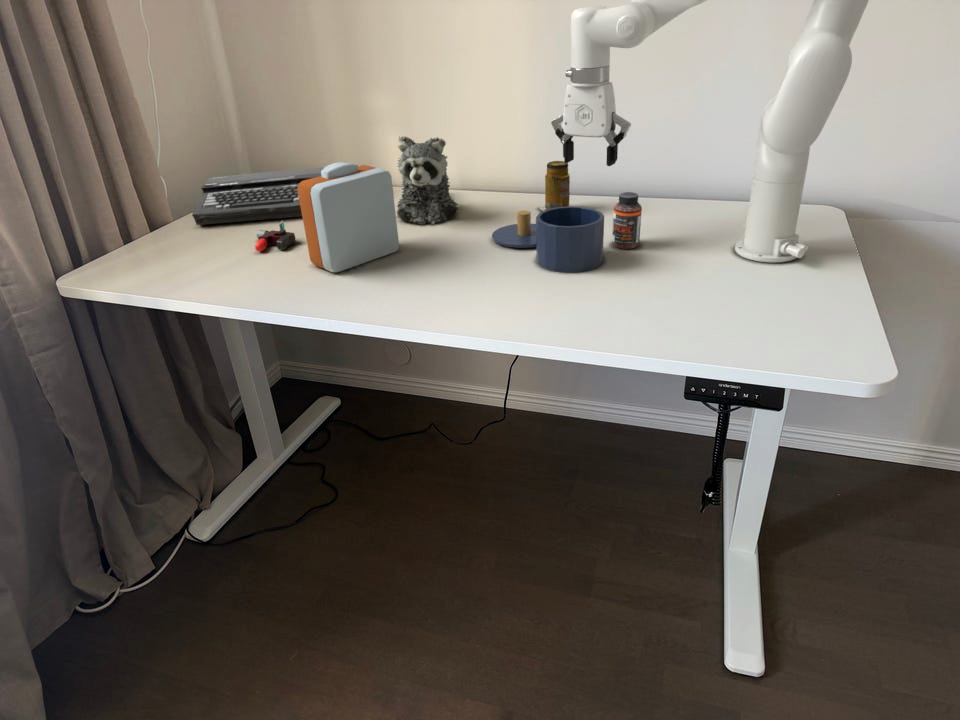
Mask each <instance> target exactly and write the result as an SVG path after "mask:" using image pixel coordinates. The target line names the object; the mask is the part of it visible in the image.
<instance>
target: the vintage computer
mask: <svg viewBox="0 0 960 720" xmlns="http://www.w3.org/2000/svg"><path fill="white" fill-rule="evenodd" d="M356 165H357V166H359V165H358V164H356ZM325 167H326V166H321V167H320V166H319V167H309V168H295V169H286V170H275V171H265V172H264V171H263V172H254V173H244V174H232V175H223V176H215V177H214V176H213V177H207V179H206V180H205V182H204V183H203V185H201V186H200V188H201V191H202V193H200V196H199V198H198V200H197V203H196V205H195V206H194V211H193V212H192V215H191V216H192V218H193V219H194V221H195V224H196V226H201V225H203V226H204V225H214V224H225V223H226V224H227V223H238V222H249V221H262V220H263V221H264V220H271V219H272V220H273V219H274V220H275V219H285V218H286V219H287V218H299V217H302V212H301V207H300V201H299V196H298V190H297V188H298V184H299V183H300V182H302V181H303V180H307V179H311V178H315V177H319V176H322V175H321V171H322V170H323V169H324V168H325Z"/></svg>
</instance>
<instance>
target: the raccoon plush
mask: <svg viewBox="0 0 960 720" xmlns="http://www.w3.org/2000/svg"><path fill="white" fill-rule="evenodd" d="M446 145H447V142H446V140H445V139H443V138H439V136H436V137H433V138H432V137H430V138H429V139H427V140H425V142H415V140H413V139H412V138H410V137H408V136H398V144H397V148H398V149H399V151H400V152H401V155H400V157H398V160H397V163H396V164H397V168H398V170H397V171H398V172H399V174H400V175H401V179H402V181H401V186H402V188H401V194H400V195H401V196H400V197H401V198H400V199H398V201H397V206H396V207H397V210H396V214H397V215H396V216H397V217H398V218H399V219H400V220H401V221H402V222H405V223H407V222H408V223H414V224H416V225H421V226H422V225H425V224H426V223H427V224H432V225H435V224H436V223H442V222H443V221H446V220H452V219H454V218H456V214H457V212H458V211H459V208H458V205H459V204H458V203H457V202H456V201H455V200H454V199H452V196H451V195H450V194H451V193H450V187H451V185H450V184H451V182H449V180H450V178H449V175H448V174H447V170H448V169H447V167H448V165H449V163H448V162H449V161H447V159H448V155H445V154H443V153H444V149H445V146H446Z"/></svg>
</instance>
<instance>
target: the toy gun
mask: <svg viewBox="0 0 960 720" xmlns="http://www.w3.org/2000/svg"><path fill="white" fill-rule="evenodd" d="M278 224H279V230H274V229H273V230H270V231H269V230H267V229H266V230H264V229H259V230H258V231H257V232H256V238H257V240H258V241H257V242H256V243H255V245H254V249H255V250H256V251H257V252H259V253H261V252H264V250H265V249H266V247H267V246H268V247H269V246H270V245H276V247H277V249H278V250H283V251H284V250H286V249H287V248H288V247H289V246H291V245H293V244H296V243H297V241H296V240H297V239H296V234H295V233H294V232H291V231H287V229H285V228H286V227H285V223H284V220H281V221H280V222H279V223H278Z"/></svg>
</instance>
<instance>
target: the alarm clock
mask: <svg viewBox="0 0 960 720" xmlns="http://www.w3.org/2000/svg"><path fill="white" fill-rule="evenodd" d="M357 165H358V164H355V163H351V162H345V161H344V162H343V161H342V162H340V161H339V162H332V163H330V164H328V165H327V166H324V167H325V168H324V169H323V170H322V171H321V175H322V176H319V177H315V178H311V179H307V180H303V181H302V182H300V183H299V184H298V188H297V190H298V196H299V201H300V207H301V212H302V216H301V217H302V222H303V228H304V233H305V239H306V243H307V250H308V255H309V260H310V262H311V263H312V265H314V266H316V267H318V268H322V269H323V270H326V271H328V272H330V273H335V274H336V273H340V272H343V271H345V270H348V269H351V268H354V267H357V266H360V265H363V264H366V263H368V262H371V261H374V260H377V259H379V258H382V257H385V256H387V255H390V254H393V253H396V252H397V251H398V250H399V247H400V240H399V231H398V223H397V215H396V214H397V212H396V205H395V197H394V196H395V195H394V188H393V180H392V174H391V173H390V171H389V170H387V169H383V168H379V167H374V166H370V165H365V164H362V165H358V166H357Z"/></svg>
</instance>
